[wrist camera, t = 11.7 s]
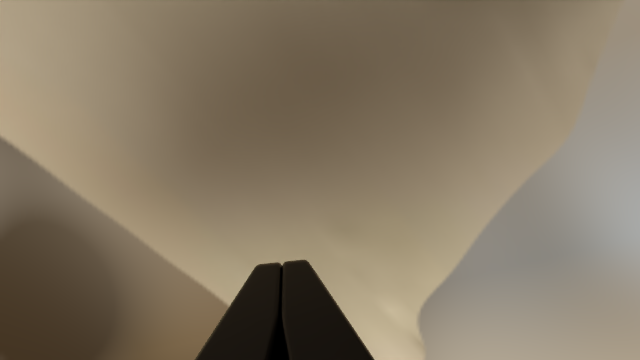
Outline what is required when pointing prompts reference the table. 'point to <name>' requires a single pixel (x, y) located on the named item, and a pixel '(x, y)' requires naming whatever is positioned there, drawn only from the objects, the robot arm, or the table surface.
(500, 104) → the table surface
